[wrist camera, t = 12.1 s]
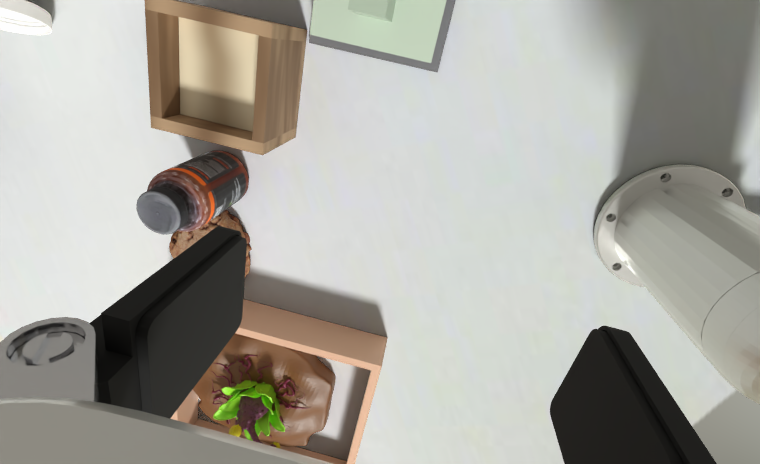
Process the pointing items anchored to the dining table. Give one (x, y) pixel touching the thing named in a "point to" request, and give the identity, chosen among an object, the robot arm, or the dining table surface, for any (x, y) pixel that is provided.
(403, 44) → the lid
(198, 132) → the box
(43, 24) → the spread jar
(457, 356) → the dining table surface
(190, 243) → the cookie
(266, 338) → the wooden tray
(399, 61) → the mat
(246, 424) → the plant
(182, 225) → the supplement bottle
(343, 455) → the dining table surface
